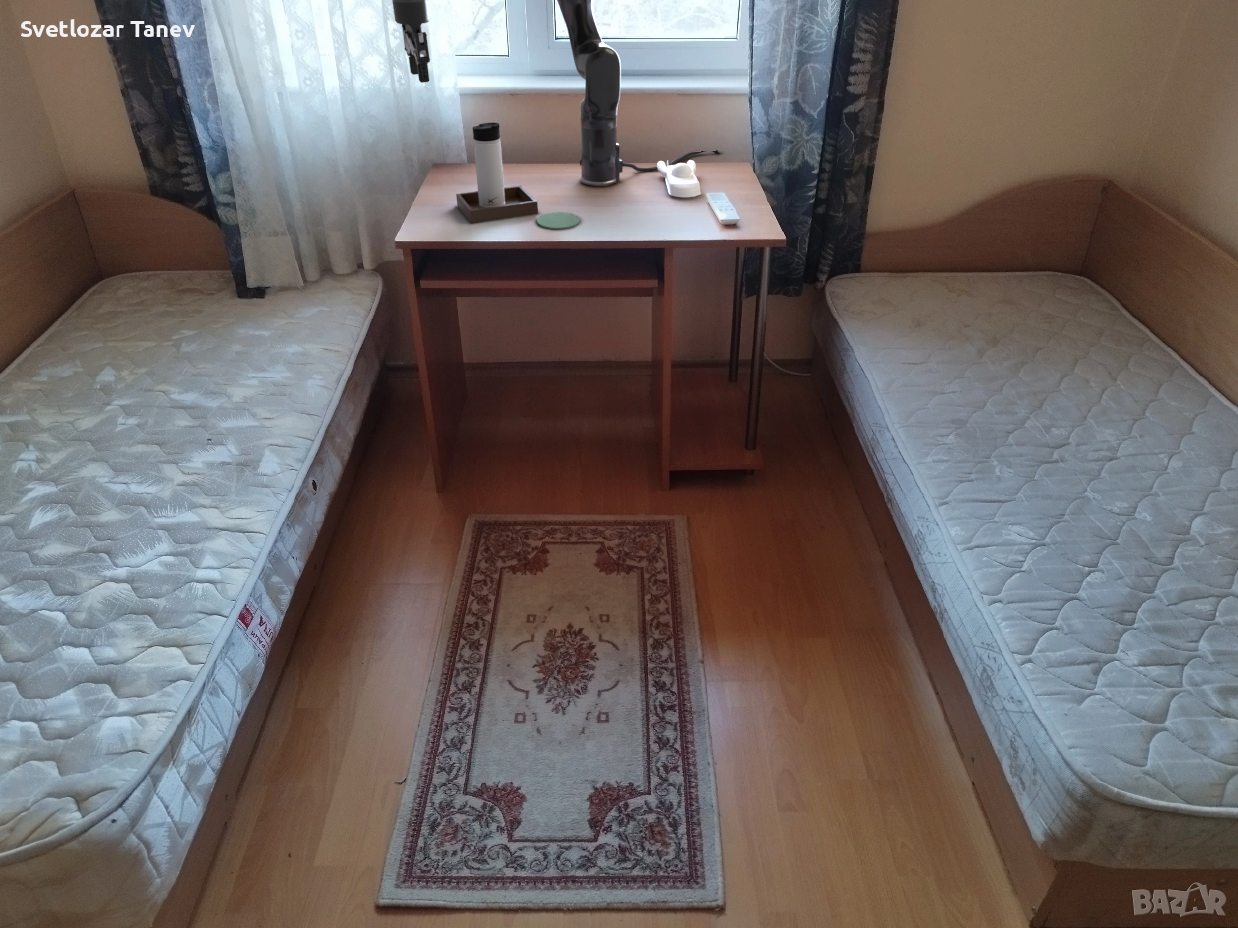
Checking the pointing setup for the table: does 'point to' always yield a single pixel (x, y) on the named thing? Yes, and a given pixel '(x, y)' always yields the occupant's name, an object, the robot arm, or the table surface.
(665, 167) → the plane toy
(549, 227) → the coaster
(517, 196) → the tray
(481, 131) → the travel mug
